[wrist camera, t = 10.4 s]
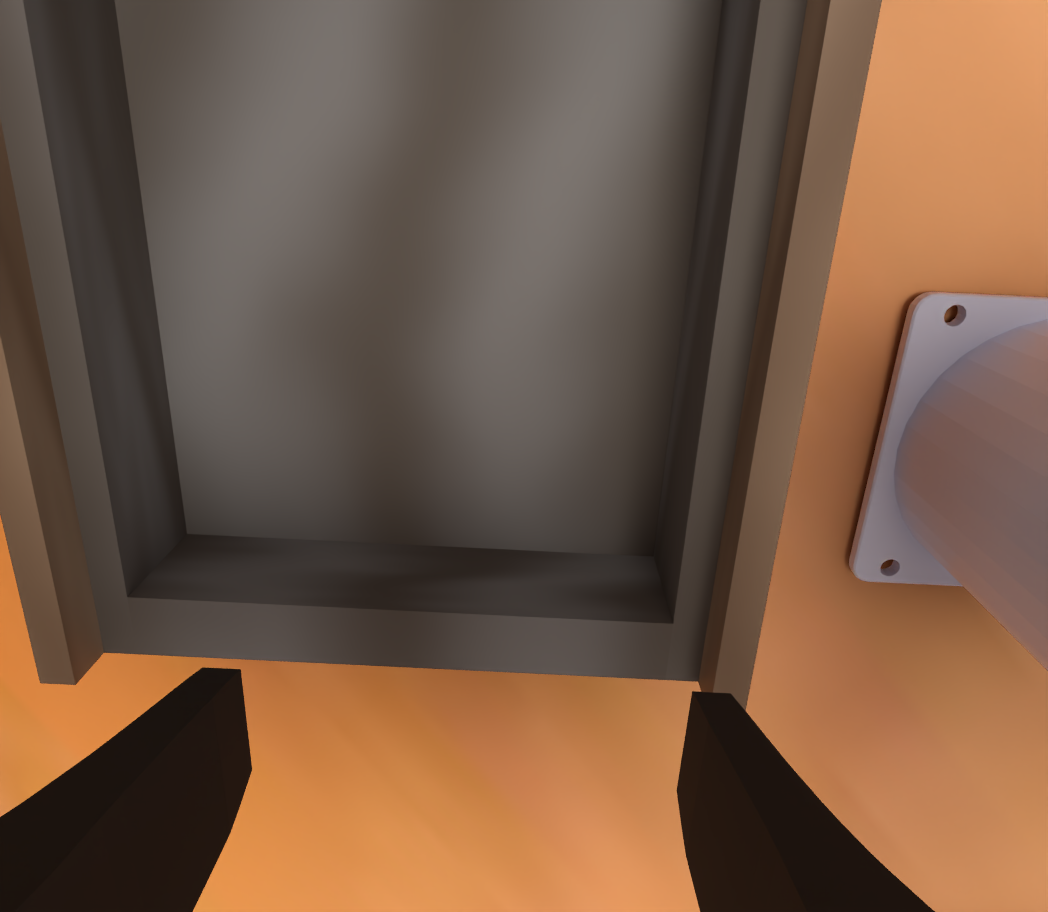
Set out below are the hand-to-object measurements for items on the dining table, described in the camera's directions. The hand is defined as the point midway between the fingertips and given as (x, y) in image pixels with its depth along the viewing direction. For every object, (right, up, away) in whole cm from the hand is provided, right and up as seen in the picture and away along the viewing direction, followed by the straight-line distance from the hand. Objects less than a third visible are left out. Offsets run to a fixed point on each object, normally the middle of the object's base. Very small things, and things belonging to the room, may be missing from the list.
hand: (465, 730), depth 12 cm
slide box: (-2, +9, +7) cm, 11 cm away
